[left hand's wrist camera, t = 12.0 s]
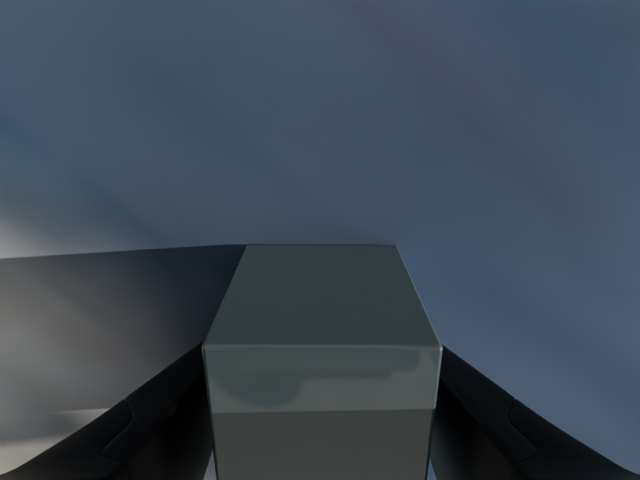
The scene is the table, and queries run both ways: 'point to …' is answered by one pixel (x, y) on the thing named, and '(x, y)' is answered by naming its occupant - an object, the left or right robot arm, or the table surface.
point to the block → (321, 367)
